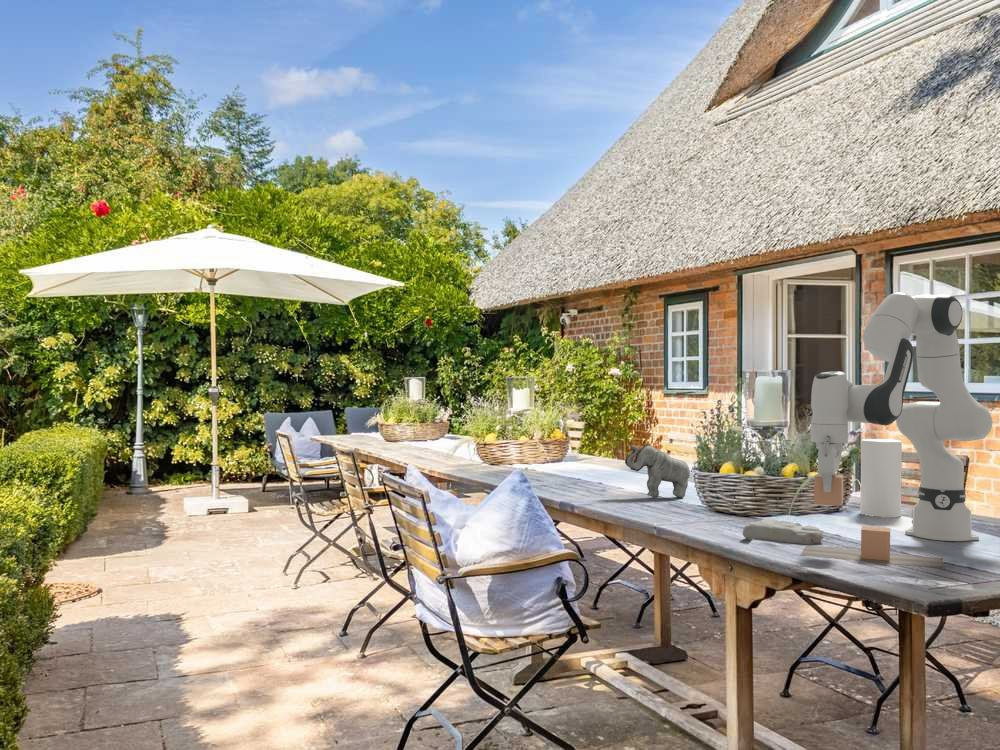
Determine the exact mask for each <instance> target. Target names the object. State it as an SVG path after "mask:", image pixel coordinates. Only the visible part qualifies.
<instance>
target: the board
mask: <svg viewBox="0 0 1000 750" xmlns="http://www.w3.org/2000/svg"><path fill="white" fill-rule="evenodd" d="M800 556H806V557H814V558H815V557H816V558H827V559H837V560H847V561H859V562H870V563H871V562H872V563H878V564H891V565H900V566H901V565H902V566H911V567H923V568H931V569H932V568H934V569H944V570H945V563H944V562H945V561H944V558H942V557H933V556H923V555H920V556H919V555H910V554H909V555H908V554H899V553H890V561H887V560H876V559H865V558H861V550H852V549H842V548H832V547H820V546H819V547H818V546H810V545H809V546H808V545H807V546H804V548H803V550H802V551H801V553H800Z"/></svg>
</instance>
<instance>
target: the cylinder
mask: <svg viewBox="0 0 1000 750" xmlns="http://www.w3.org/2000/svg"><path fill="white" fill-rule="evenodd" d="M902 443H903V442H902V440H898V439H884V438H883V439H882V438H863V439H861V440H860V509H859V510H860V512H861V513H863V514H867V515H873V516H883V517H882V518H887V517H893V518H900V517H901V516H902V461H903V460H902V453H903V452H902V449H903V447H902ZM861 513H860V514H861ZM863 514H862V515H863ZM867 515H866V516H867ZM873 516H872V517H873ZM899 516H900V517H899Z"/></svg>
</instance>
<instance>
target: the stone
mask: <svg viewBox="0 0 1000 750" xmlns="http://www.w3.org/2000/svg"><path fill="white" fill-rule="evenodd" d="M742 536H743V537H744V538H745V539H746V540H748V541H750V542H752V541H753V540H754V539H763V540H771V541H777V542H783V543H784V542H785V543H792V544H793V543H794V544H801V545H815V544H821V542H822V540H823V539H824V535H823V532H822V530H821V529H820V528H819V527H817V526H813V525H809V524H808V525H801V524H799V523H797V522H796V523H795V522H793V521H792V522H791V521H786V520H785V521H784V520H777V519H774V518H770V517H769V518H763V519H760V520H758V521H749V522H748V523H747V524H745V525H744V527H743V531H742Z"/></svg>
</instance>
